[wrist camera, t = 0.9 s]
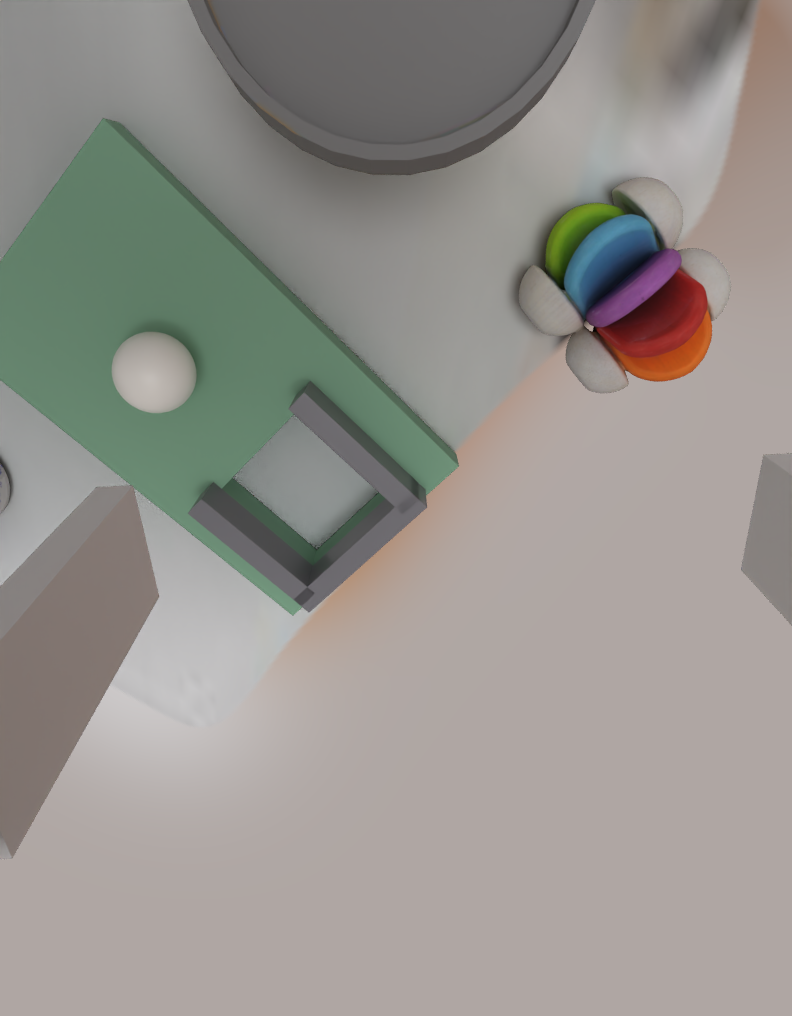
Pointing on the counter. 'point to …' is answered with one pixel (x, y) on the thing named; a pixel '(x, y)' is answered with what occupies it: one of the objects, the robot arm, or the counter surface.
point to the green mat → (192, 321)
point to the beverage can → (4, 489)
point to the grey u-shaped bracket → (353, 548)
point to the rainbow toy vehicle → (626, 289)
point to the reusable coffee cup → (392, 72)
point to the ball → (154, 372)
